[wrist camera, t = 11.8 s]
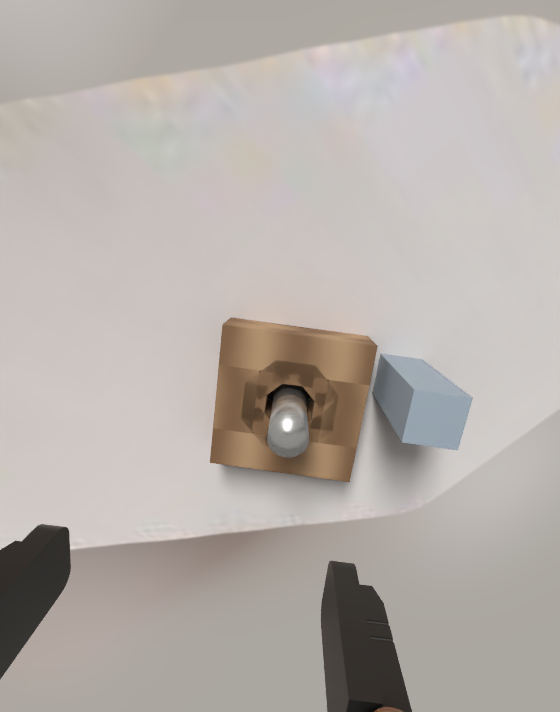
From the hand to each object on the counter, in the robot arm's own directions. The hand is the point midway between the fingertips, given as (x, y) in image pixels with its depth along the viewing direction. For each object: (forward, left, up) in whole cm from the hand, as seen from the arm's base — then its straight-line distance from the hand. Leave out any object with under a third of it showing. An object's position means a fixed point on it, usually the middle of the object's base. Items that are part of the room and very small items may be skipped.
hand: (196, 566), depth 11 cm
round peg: (-3, +3, -25) cm, 25 cm away
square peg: (-13, 0, -25) cm, 28 cm away
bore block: (-3, +3, -25) cm, 25 cm away
